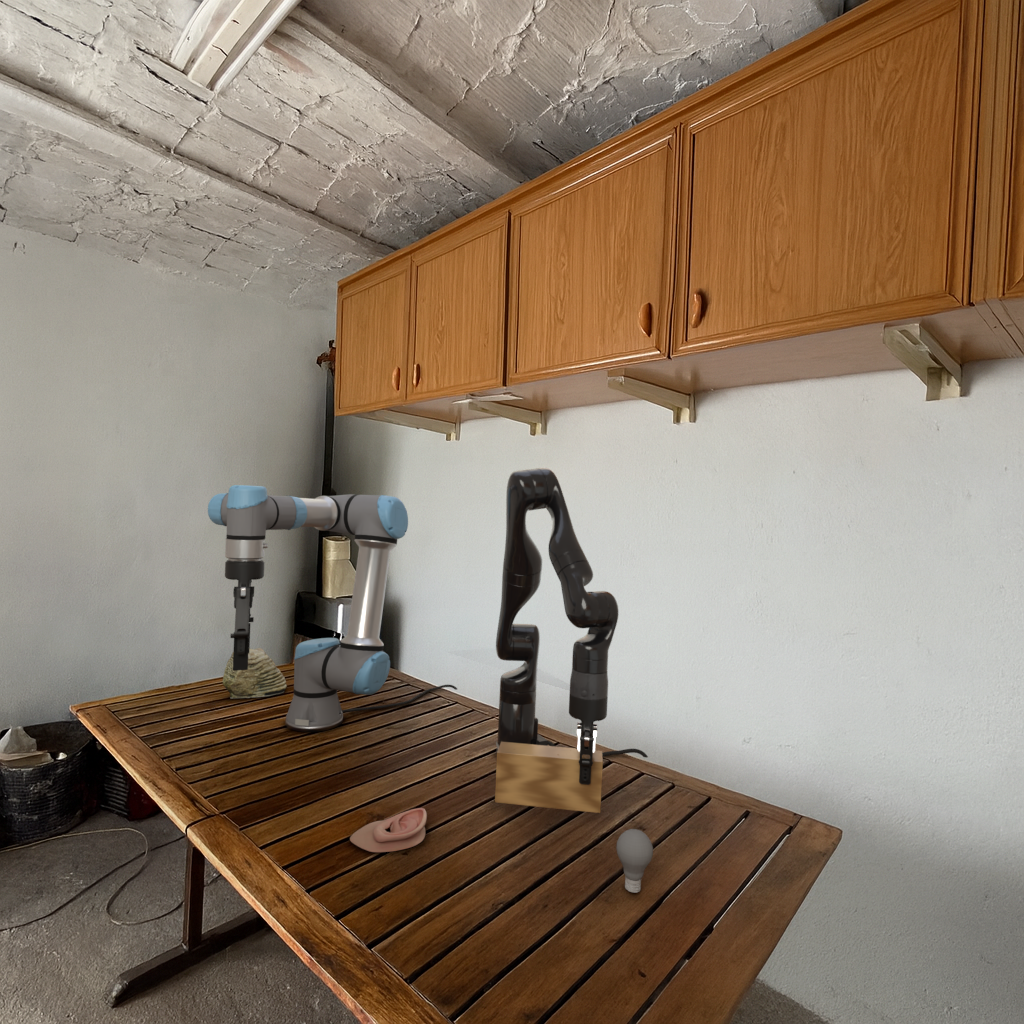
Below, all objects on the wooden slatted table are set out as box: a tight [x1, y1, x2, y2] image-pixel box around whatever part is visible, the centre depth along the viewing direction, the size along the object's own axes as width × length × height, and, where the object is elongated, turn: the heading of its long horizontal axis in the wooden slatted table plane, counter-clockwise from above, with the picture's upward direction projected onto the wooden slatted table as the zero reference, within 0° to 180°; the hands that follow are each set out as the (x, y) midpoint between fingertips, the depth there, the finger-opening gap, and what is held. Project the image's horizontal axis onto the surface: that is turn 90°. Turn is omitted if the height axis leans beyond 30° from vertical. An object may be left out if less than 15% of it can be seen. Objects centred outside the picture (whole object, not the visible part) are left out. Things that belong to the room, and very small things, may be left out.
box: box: [494, 742, 604, 814], centre depth 126 cm, size 21×6×10 cm, turn 83°
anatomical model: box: [349, 807, 428, 853], centre depth 119 cm, size 13×4×12 cm
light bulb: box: [615, 828, 654, 894], centre depth 106 cm, size 6×6×10 cm
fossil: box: [222, 647, 288, 699], centre depth 198 cm, size 9×18×15 cm, turn 132°
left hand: (241, 661), depth 132 cm, fingers open, 13 cm apart
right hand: (584, 776), depth 126 cm, fingers closed on box, 5 cm apart
